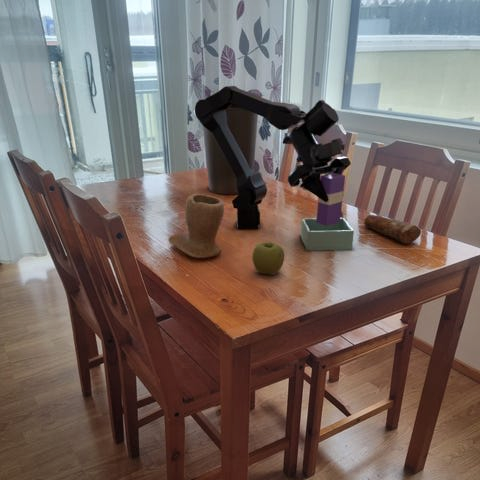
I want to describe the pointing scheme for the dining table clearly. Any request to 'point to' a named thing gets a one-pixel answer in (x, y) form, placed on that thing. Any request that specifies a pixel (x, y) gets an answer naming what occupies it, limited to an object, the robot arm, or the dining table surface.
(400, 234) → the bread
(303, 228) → the bin
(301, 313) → the dining table surface
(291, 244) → the dining table surface
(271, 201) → the dining table surface
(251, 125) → the waste basket
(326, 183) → the purple tall block
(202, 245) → the stone cup
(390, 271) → the dining table surface
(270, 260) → the apple
